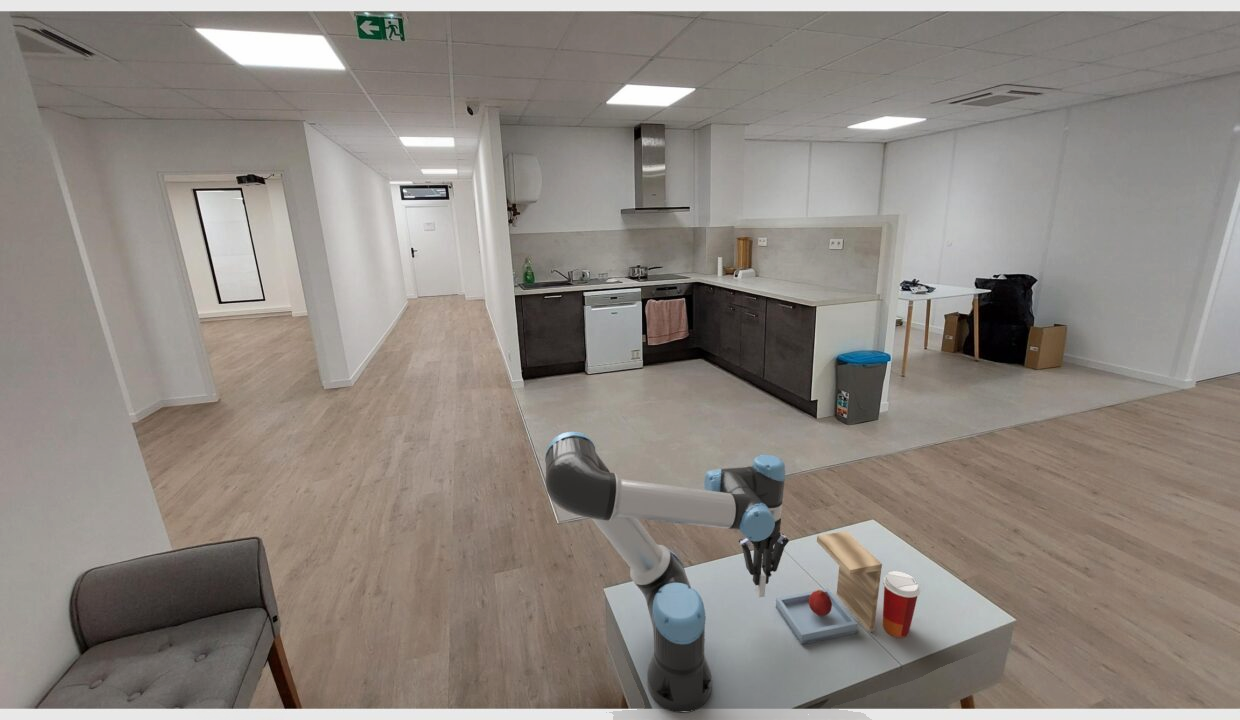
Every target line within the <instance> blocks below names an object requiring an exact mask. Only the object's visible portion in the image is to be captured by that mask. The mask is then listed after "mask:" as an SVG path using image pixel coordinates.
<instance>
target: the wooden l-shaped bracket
mask: <svg viewBox="0 0 1240 720" xmlns="http://www.w3.org/2000/svg"><path fill="white" fill-rule="evenodd" d="M816 543H817V544H818V545H820V547H821V548H822V549H823V550H824V551H825V552H826V553H827V554H828V556H829V557H830V558H831V559H832V560H833V561H834V562H835V563H836V564H837V565H838V577H837V587H836V595H837V596H838V597H839V599H840V600H841V601H842V602H843V603H844V604H845V606H846V607H847V608H848V609H849V611H851V612H852V613H851V614H853V615H854V616H855V617H856V619H858V621H859V622H860V623H861V624H862V625H863V627H864V628H865V629H866V630H867V631H868V633H872V632H874V631H875V623H876V616H877V606H878V601H879V599H878V598H879V592H880V582H881V575H882V567H883V563H882V562H880V561H879V560H878V559H877V557H875V556H874V555H873V554H872V553H871V552H870V551H868V550H867V548H865V547H864V546H863V545H862V544H861V543H860V542H859V541H858V540H857V539H856V538H855V537H854V536H853V535H851V534H850V533H849V532H848V531H847V530H845V531H840V532H834V533H828V534H821V535H817V536H816Z"/></svg>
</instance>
